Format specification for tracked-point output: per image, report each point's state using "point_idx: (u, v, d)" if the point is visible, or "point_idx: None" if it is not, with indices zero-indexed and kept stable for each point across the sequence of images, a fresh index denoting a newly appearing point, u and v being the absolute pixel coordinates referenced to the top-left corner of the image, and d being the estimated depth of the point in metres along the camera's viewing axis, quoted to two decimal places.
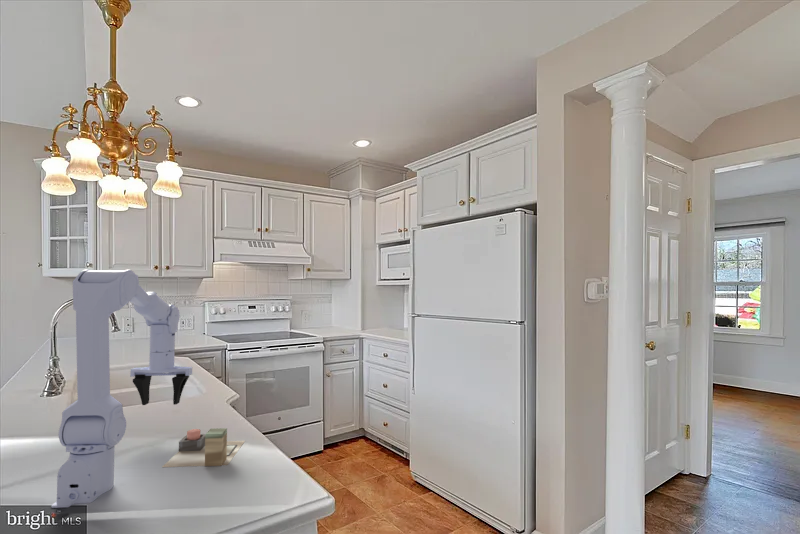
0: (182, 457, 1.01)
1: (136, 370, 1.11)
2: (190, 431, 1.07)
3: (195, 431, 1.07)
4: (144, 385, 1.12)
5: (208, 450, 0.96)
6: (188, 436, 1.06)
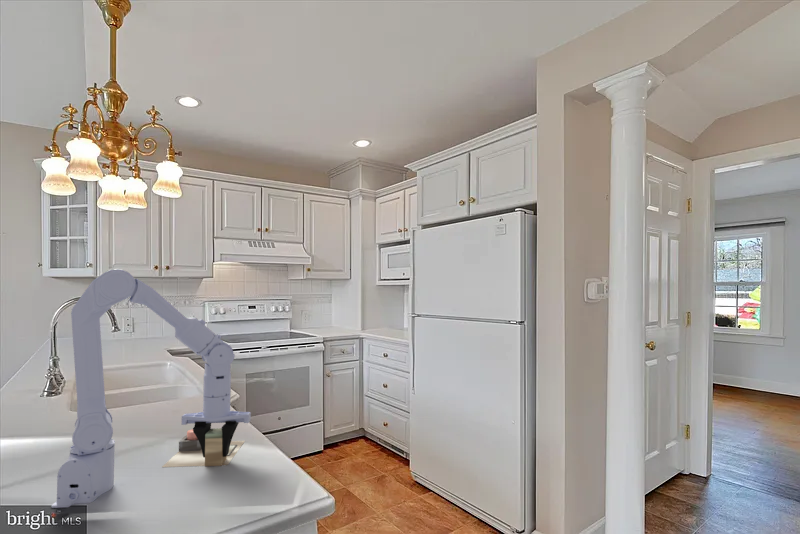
0: (182, 457, 1.01)
1: (188, 417, 0.97)
2: (190, 431, 1.07)
3: None
4: None
5: (208, 450, 0.96)
6: (188, 436, 1.06)
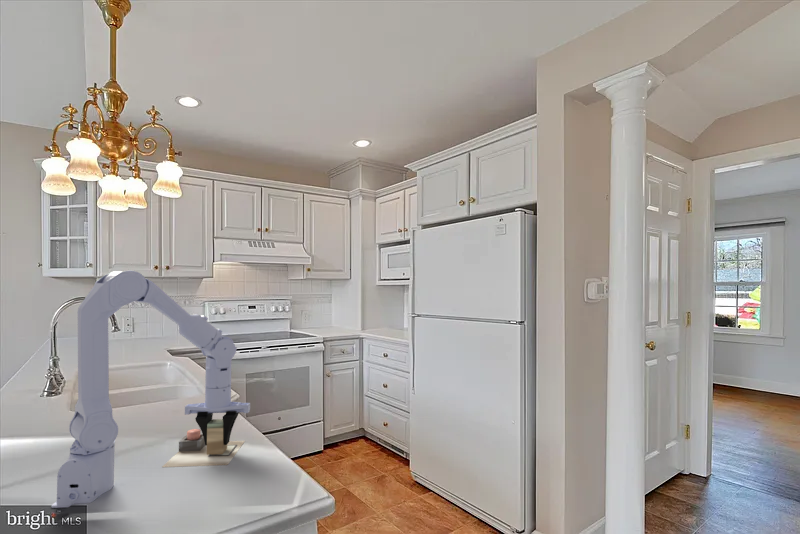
0: (182, 457, 1.01)
1: (191, 407, 1.02)
2: (190, 431, 1.07)
3: (195, 431, 1.07)
4: (207, 423, 1.03)
5: (209, 439, 1.02)
6: (188, 436, 1.06)
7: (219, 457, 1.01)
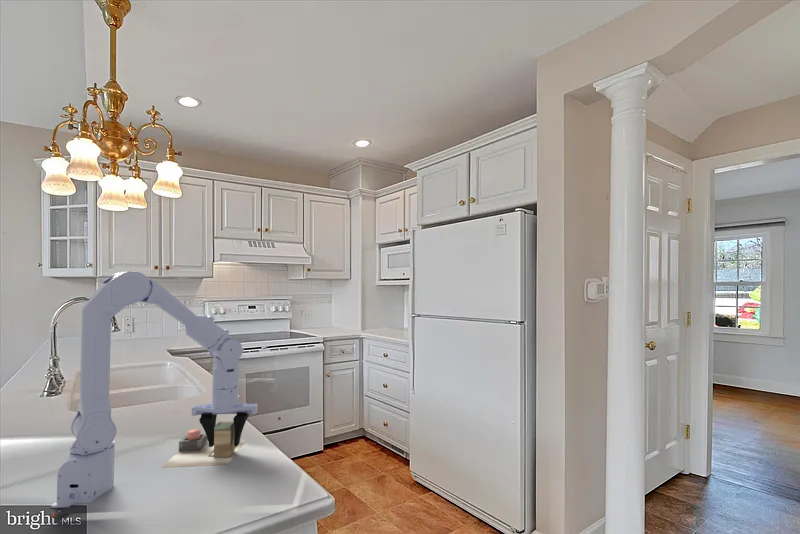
0: (182, 457, 1.01)
1: (198, 409, 1.01)
2: (190, 431, 1.07)
3: (195, 431, 1.07)
4: (211, 425, 1.02)
5: (217, 442, 1.01)
6: (188, 436, 1.06)
7: (219, 457, 1.01)
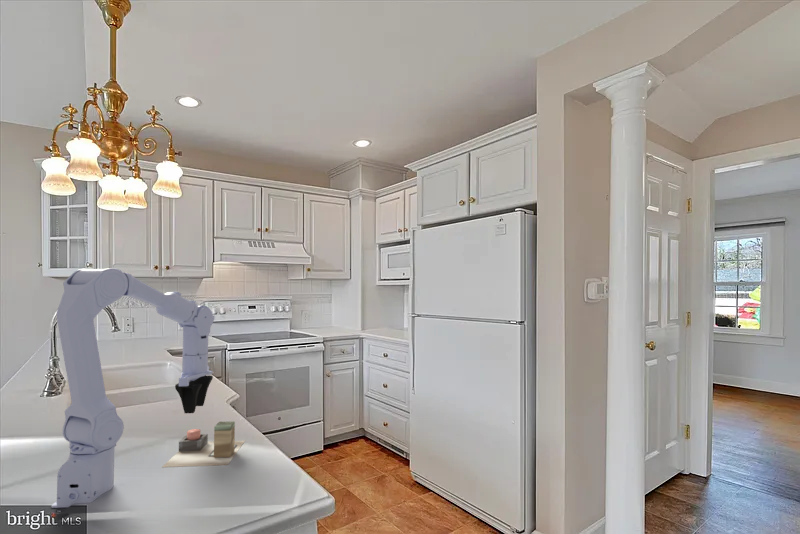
0: (182, 457, 1.01)
1: None
2: (190, 431, 1.07)
3: (195, 431, 1.07)
4: None
5: (217, 442, 1.01)
6: (188, 436, 1.06)
7: (219, 457, 1.01)
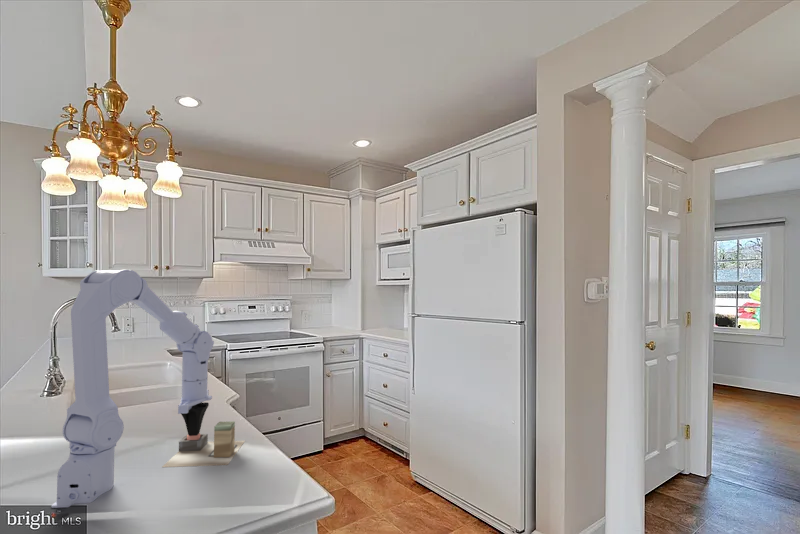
0: (182, 457, 1.01)
1: None
2: None
3: None
4: None
5: (217, 442, 1.01)
6: None
7: (219, 457, 1.01)
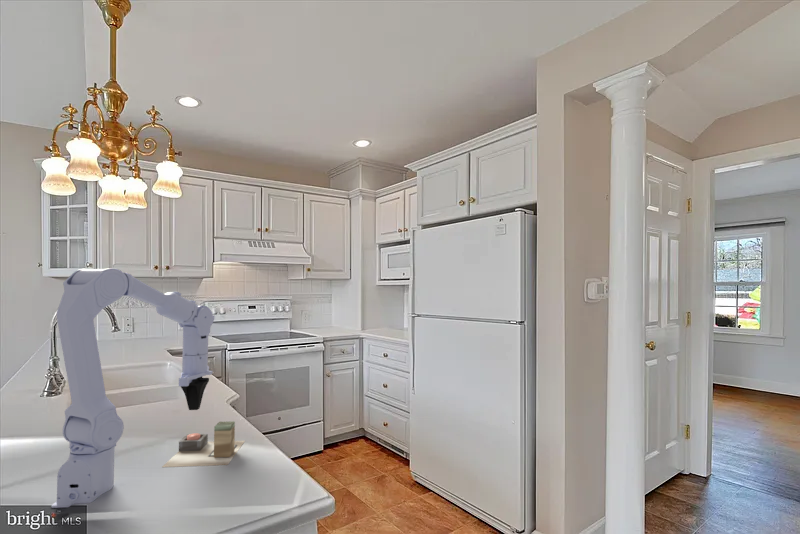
0: (182, 457, 1.01)
1: None
2: (190, 435, 1.07)
3: (195, 435, 1.07)
4: None
5: (217, 442, 1.01)
6: None
7: (219, 457, 1.01)
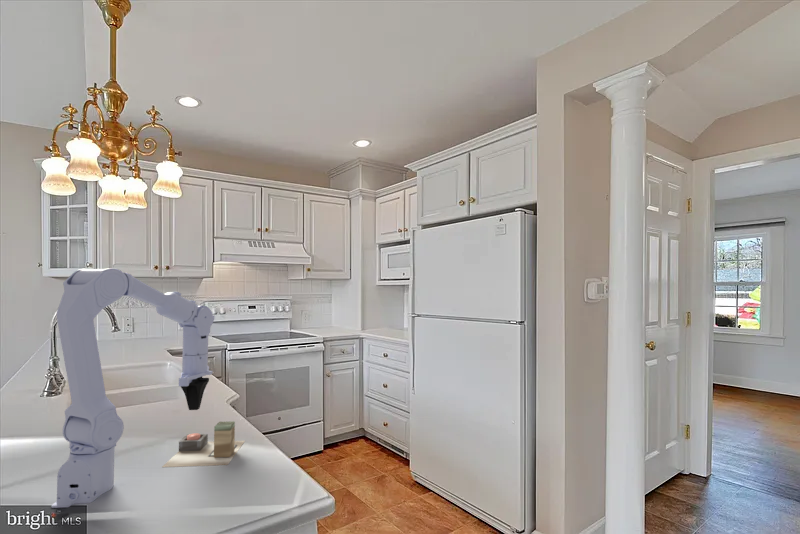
0: (182, 457, 1.01)
1: None
2: (190, 435, 1.07)
3: (195, 435, 1.07)
4: None
5: (217, 442, 1.01)
6: None
7: (219, 457, 1.01)
